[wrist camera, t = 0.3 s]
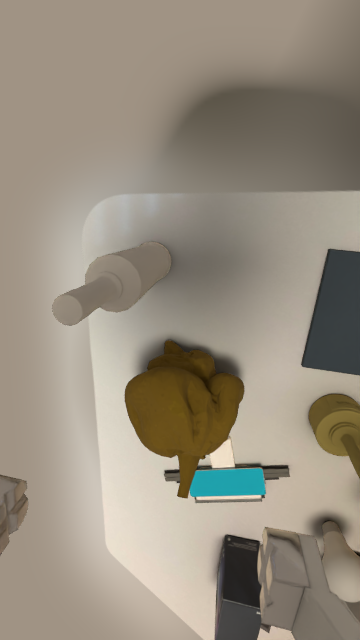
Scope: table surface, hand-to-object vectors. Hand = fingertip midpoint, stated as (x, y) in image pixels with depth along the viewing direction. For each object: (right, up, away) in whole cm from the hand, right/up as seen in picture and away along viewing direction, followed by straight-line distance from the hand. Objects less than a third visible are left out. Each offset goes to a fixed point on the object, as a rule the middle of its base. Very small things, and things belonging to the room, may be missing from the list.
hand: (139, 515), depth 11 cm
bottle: (-2, +15, +33) cm, 37 cm away
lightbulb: (+26, -26, +42) cm, 56 cm away
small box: (+12, -36, +47) cm, 61 cm away
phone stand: (+9, -17, +42) cm, 46 cm away
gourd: (+3, -3, +38) cm, 39 cm away
